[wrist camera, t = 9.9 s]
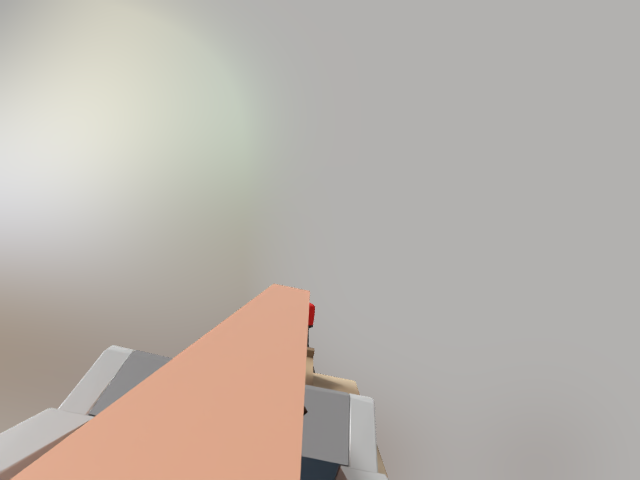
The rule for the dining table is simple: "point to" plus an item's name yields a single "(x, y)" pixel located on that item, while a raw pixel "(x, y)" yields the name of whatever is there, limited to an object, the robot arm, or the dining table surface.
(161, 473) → the pinkish brown square bar
